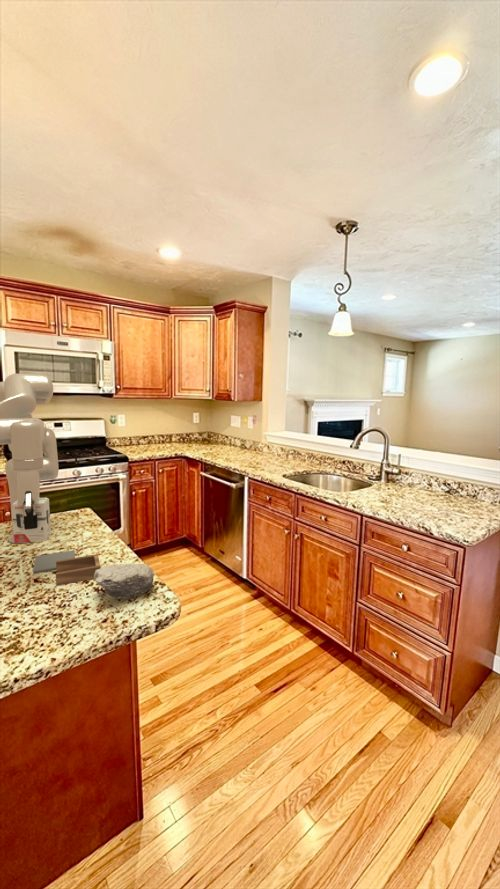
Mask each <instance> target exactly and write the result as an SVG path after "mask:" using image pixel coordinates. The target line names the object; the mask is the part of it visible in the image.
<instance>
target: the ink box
mask: <svg viewBox="0 0 500 889" xmlns="http://www.w3.org/2000/svg"><path fill="white" fill-rule="evenodd" d="M31 504H34V502H31ZM35 507H36V514H37V524H38V527H37V528H35V529H27V530H25V529H24V503H23V505H21V507H19V506H18V500H17V501H15V502H14V503H13V504H12V516H13V530H14V543H13V544H24V543H23V542H28V543H35V542H38V543H39V542H47V541H48V539H49V538H50V537H51V535H52V530H51V528H52V527H51V512H50V498H48V497H39V500H38V504H37V505H36V506H35ZM31 508H33V507H31Z"/></svg>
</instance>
